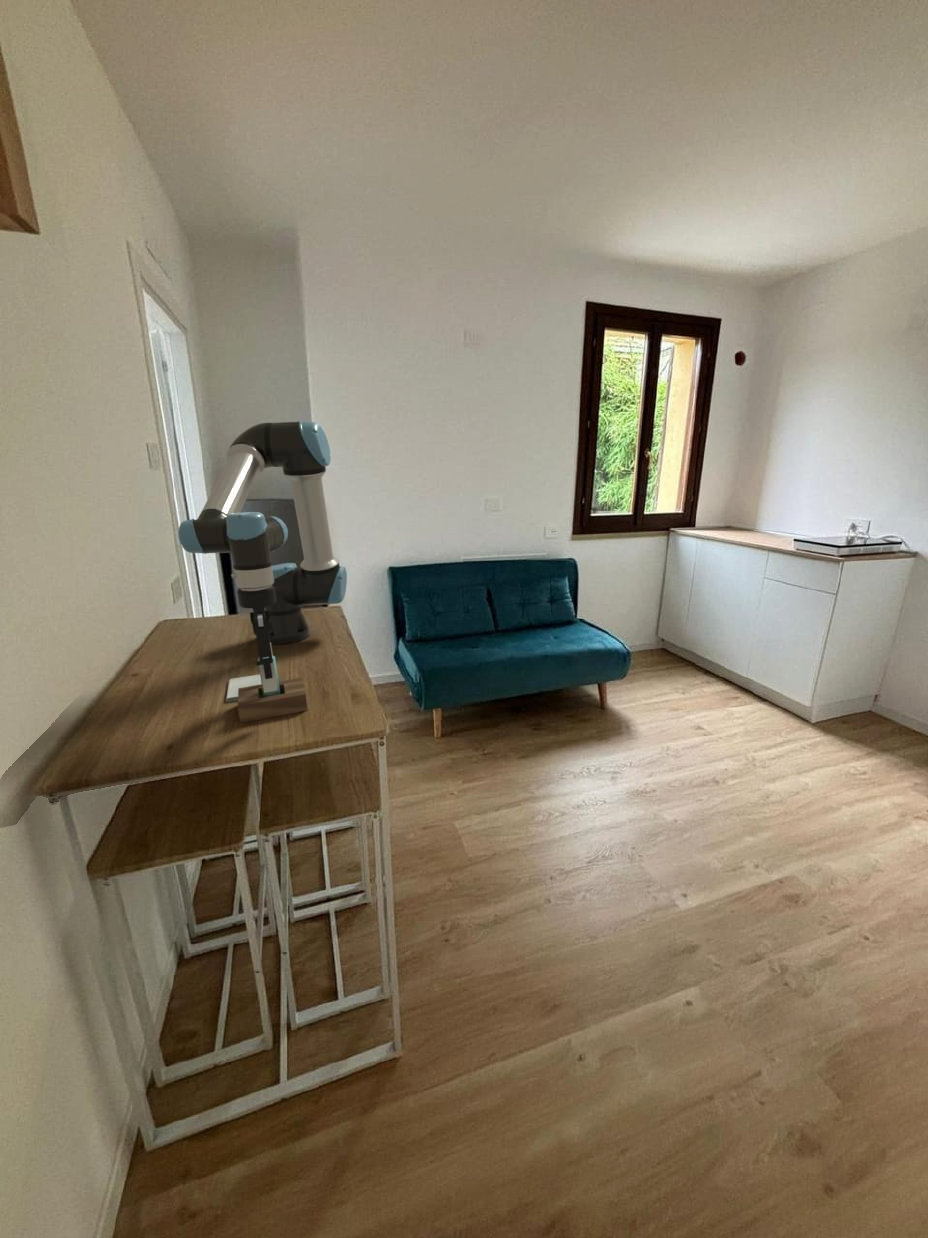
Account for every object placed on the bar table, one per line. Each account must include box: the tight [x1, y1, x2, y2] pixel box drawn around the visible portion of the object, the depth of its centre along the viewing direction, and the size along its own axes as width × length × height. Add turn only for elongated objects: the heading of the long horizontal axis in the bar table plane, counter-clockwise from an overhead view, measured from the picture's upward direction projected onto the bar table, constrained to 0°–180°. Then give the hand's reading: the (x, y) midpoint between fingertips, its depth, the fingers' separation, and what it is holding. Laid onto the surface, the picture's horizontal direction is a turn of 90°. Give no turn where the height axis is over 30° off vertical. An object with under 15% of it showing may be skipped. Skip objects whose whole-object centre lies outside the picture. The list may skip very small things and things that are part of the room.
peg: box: [257, 654, 280, 697], centre depth 115 cm, size 4×4×12 cm
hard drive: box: [225, 674, 262, 703], centre depth 127 cm, size 2×8×12 cm
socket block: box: [237, 677, 308, 724], centre depth 116 cm, size 10×14×4 cm
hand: (269, 680), depth 115 cm, fingers open, 12 cm apart
